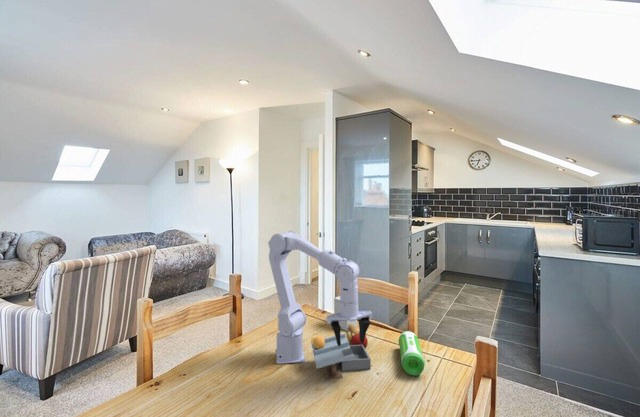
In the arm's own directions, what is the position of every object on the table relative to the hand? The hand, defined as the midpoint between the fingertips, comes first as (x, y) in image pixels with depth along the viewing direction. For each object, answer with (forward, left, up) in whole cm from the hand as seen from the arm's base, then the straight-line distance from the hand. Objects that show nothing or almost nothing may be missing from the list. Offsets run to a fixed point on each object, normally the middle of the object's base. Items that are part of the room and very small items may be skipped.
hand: (350, 342), depth 95 cm
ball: (-9, +6, -3) cm, 11 cm away
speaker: (+22, +4, -11) cm, 25 cm away
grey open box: (+2, +6, -10) cm, 12 cm away
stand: (-5, +3, -10) cm, 12 cm away
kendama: (+7, +21, -11) cm, 24 cm away
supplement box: (+6, +34, -10) cm, 36 cm away
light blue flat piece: (-5, +3, -4) cm, 8 cm away
